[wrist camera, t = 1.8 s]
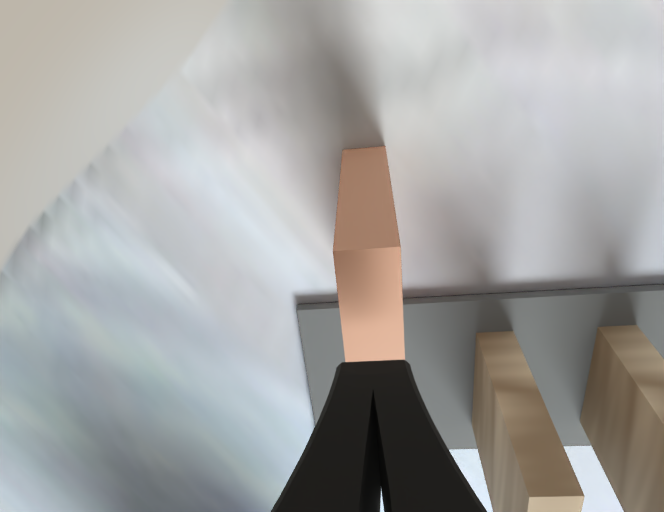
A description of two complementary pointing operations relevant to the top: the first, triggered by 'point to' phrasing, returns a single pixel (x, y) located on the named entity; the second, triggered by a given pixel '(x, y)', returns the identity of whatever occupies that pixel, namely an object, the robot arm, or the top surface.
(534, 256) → the top surface
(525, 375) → the light brown flat block
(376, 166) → the domino
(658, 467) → the domino
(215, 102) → the top surface
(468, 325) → the slate mat
